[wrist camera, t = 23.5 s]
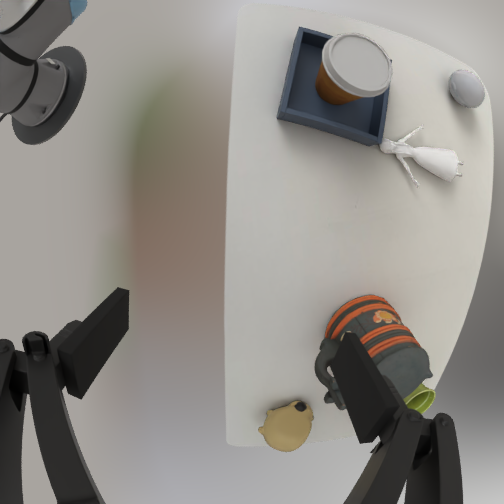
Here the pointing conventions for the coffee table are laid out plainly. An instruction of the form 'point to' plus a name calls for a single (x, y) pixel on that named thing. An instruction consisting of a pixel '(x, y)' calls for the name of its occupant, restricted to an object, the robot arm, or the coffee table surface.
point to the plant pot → (420, 398)
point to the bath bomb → (466, 88)
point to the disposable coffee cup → (352, 69)
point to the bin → (319, 111)
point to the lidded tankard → (374, 346)
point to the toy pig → (287, 426)
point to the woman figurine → (424, 157)
